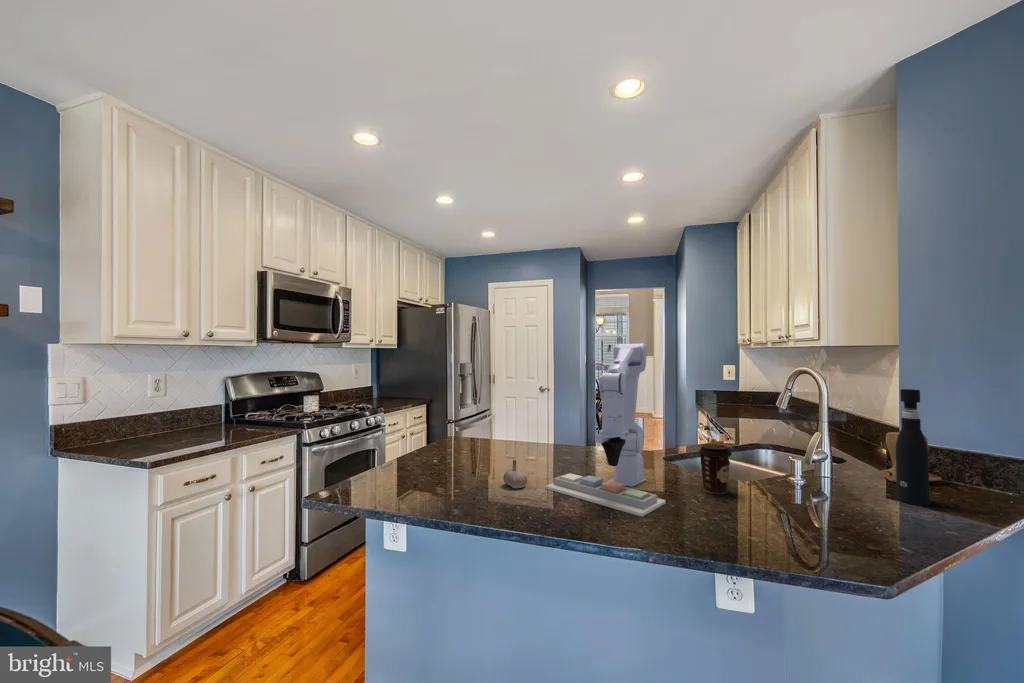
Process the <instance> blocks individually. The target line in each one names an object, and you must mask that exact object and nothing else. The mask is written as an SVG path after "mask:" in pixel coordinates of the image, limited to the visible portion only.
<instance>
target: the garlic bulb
mask: <svg viewBox="0 0 1024 683" xmlns="http://www.w3.org/2000/svg"><path fill="white" fill-rule="evenodd" d="M502 476H503V477H502V480H503V482H504V483H505V485H508V486H509V487H511V488H512V489H522V488H524V487H525V486H526V485H527V483H528V478H527V476H526V475H525V473H523V472H521V471H520V470H517V459H513V460H512V469H511V470H507V471H506V472H505V473H504V474H503V475H502Z"/></svg>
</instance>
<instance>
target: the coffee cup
mask: <svg viewBox="0 0 1024 683" xmlns="http://www.w3.org/2000/svg"><path fill="white" fill-rule="evenodd" d="M698 454H699V456H700V467H701V478H702V490H703V492H706V493H709V494H714V495H723V494H727V493H728V482H729V476H730V465H731V461H730V459H729V457H731V456H732V452H731V450H730V449H729V447H728V446H726V445H724V444H717V443H716V444H715V443H706V444H705V443H704V444H702V445H701V448H700V449H699V450H698Z"/></svg>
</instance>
